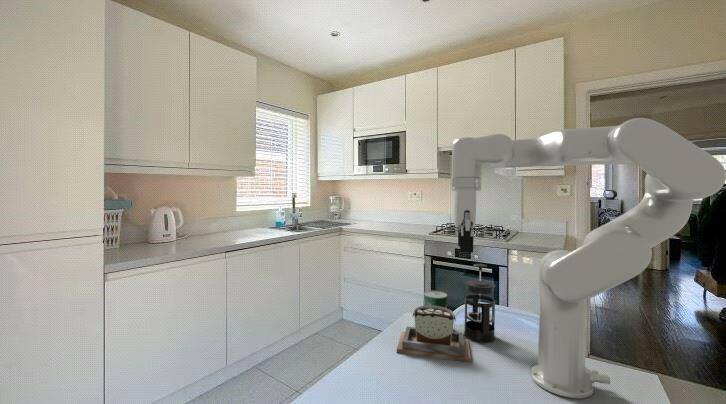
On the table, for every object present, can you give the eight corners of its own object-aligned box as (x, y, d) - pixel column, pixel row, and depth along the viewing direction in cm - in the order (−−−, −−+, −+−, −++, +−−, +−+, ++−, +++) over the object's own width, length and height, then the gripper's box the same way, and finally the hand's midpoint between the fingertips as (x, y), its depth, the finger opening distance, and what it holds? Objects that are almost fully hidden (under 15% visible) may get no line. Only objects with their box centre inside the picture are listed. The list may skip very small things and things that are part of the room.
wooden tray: (467, 342, 96) (467, 332, 95) (471, 362, 84) (471, 351, 84) (402, 334, 100) (402, 325, 100) (396, 352, 89) (396, 341, 89)
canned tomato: (442, 332, 102) (443, 299, 102) (419, 327, 106) (420, 294, 106) (449, 324, 109) (450, 293, 109) (427, 319, 113) (428, 289, 113)
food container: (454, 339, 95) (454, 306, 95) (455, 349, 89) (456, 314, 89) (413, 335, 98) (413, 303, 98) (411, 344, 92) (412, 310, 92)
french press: (459, 328, 105) (460, 260, 105) (488, 329, 105) (489, 261, 105) (470, 345, 94) (471, 268, 93) (502, 346, 93) (503, 269, 93)
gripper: (450, 186, 93) (449, 243, 93) (452, 183, 76) (451, 253, 77) (477, 186, 91) (476, 245, 91) (485, 183, 74) (484, 255, 75)
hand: (465, 248), depth 84 cm, fingers open, 9 cm apart
